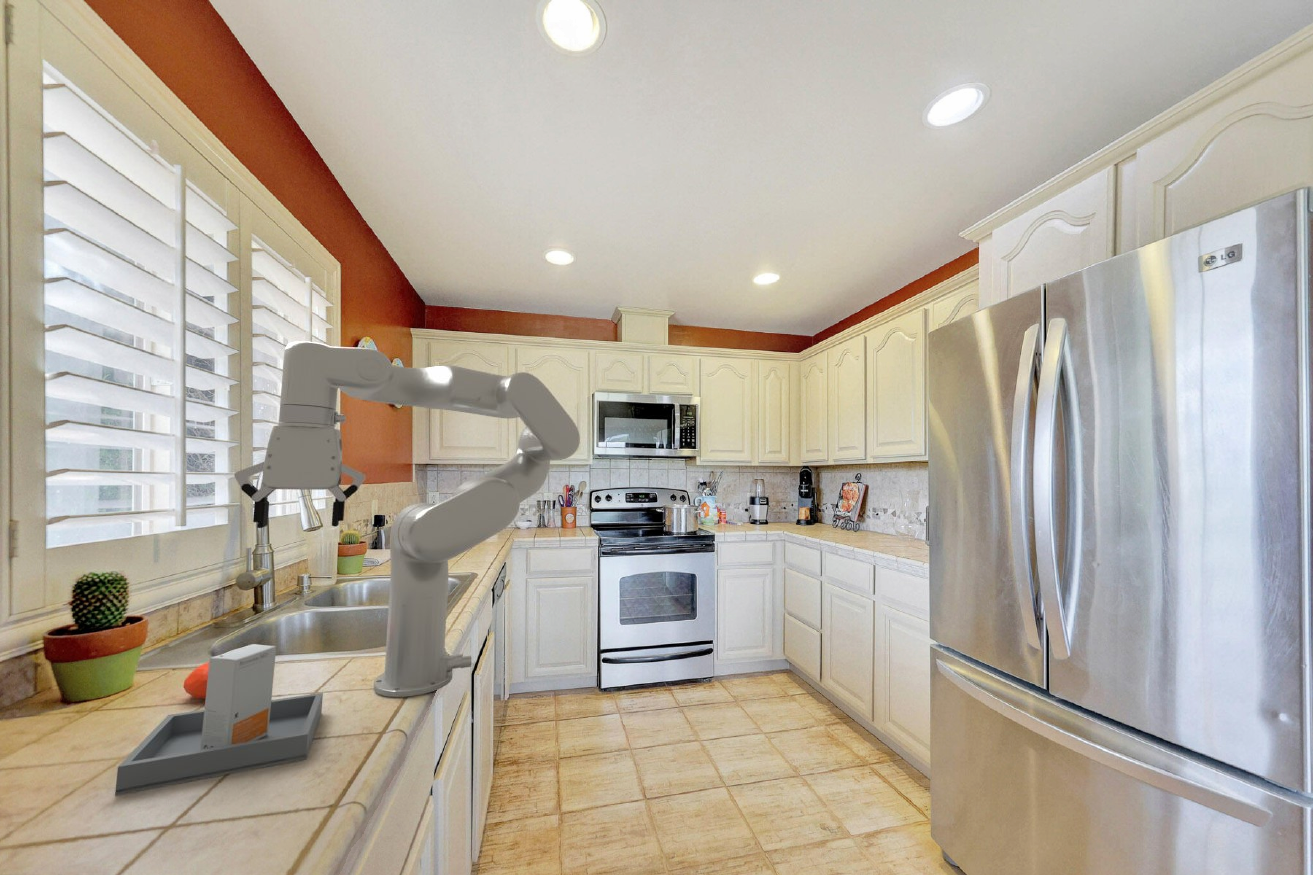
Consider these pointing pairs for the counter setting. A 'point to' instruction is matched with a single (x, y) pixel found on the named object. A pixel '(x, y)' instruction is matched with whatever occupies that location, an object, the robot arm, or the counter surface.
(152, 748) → the tray
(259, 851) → the counter surface
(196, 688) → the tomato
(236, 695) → the skincare box
